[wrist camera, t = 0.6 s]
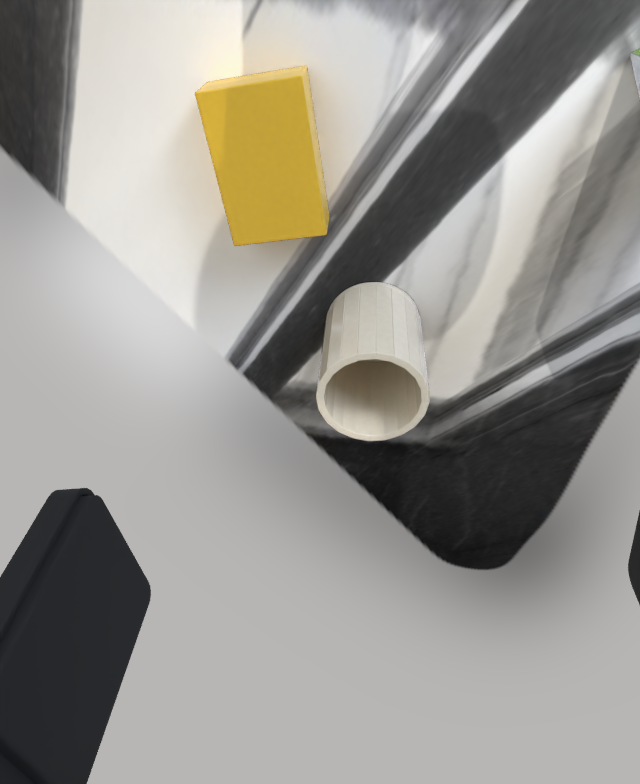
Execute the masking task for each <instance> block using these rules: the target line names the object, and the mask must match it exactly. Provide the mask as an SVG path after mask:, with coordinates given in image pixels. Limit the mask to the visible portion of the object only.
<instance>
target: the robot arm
mask: <svg viewBox="0 0 640 784" xmlns="http://www.w3.org/2000/svg"><path fill="white" fill-rule="evenodd" d="M628 571H629V577H630V581H631V584H632V587H633V589H634V592H635V595H636V597H637V599H638V602H639V604H640V512H639V517H638V521H637V526H636V531H635V535H634V540H633V544H632V549H631V553H630V558H629V564H628ZM150 596H151V590H150V585H149V582H148V580H147V578H146V577H145V575H144V573H143V571H142V570H141V568H140V566H139V564H138V563H137V561H136V559H135V557H134V555H133V553H132V552H131V550H130V548H129V546H128V545H127V543H126V541H125V539H124V538H123V536H122V534H121V532H120V530H119V528H118V527H117V525H116V523H115V522H114V520H113V518H112V516H111V514H110V512H109V511H108V509H107V507H106V505H105V504H104V502H103V500H102V499H101V497H99V496H97V495H96V496H95V495H94V494H93V492H92V491H91V490H89V489H88V488H80V489H67V490H56V491H54V492H53V493H51V495H50V496H49V497H48V499H47V500H46V502H45V504H44V505H43V507H42V509H41V510H40V512H39V514H38V515H37V517H36V519H35V520H34V522H33V524H32V525H31V527H30V529H29V530H28V532H27V534H26V535H25V537H24V539H23V540H22V542H21V544H20V545H19V547H18V549H17V550H16V552H15V554H14V555H13V557H12V559H11V560H10V562H9V564H8V565H7V567H6V569H5V570H4V572H3V574H2V575H1V577H0V784H86V783H87V781H88V778H89V775H90V772H91V769H92V766H93V764H94V761H95V758H96V755H97V752H98V749H99V746H100V743H101V741H102V738H103V735H104V732H105V729H106V726H107V723H108V720H109V717H110V715H111V712H112V709H113V706H114V703H115V700H116V697H117V694H118V692H119V689H120V686H121V683H122V680H123V677H124V674H125V671H126V668H127V666H128V663H129V660H130V657H131V654H132V651H133V648H134V645H135V643H136V640H137V637H138V634H139V631H140V628H141V625H142V622H143V620H144V617H145V614H146V611H147V608H148V605H149V602H150Z"/></svg>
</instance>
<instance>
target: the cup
mask: <svg viewBox="0 0 640 784" xmlns="http://www.w3.org/2000/svg"><path fill="white" fill-rule="evenodd" d="M316 400H317V405H318V409H319V411H320V413H321V415H322V416H323V418H324V419H325V421H326V422H327V423H328V424H329V425H330V426H332V427H333V428H334V429H335V430H337V431H339V432H340V433H342V434H344V435H347V436H349V437H351V438H354V439H360V440H366V441H380V440H388V439H391V438H394V437H397V436H401V435H403V434H404V433H406V432H408V431H409V430H411V429H412V428H414V427H415V426H416V425H417V424H418V423H419V421H420V420H421V419H422V418H423V417H424V415H425V413H426V410H427V408H428V405H429V401H430V400H429V385H428V377H427V368H426V360H425V351H424V343H423V335H422V326H421V318H420V314H419V311H418V308H417V306H416V304H415V303H414V301H413V300H412V299H411V297H410V296H409V295H408V294H406V293H405V292H404V291H402V290H401V289H399V288H397V287H395V286H393V285H390V284H386V283H381V282H367V283H361V284H358V285H355V286H352V287H350V288H348V289H346V290H345V291H343V292H342V293H341V294H339V295H338V296H337V297H336V298H335V300H334V301H333V302H332V304H331V306H330V308H329V310H328V313H327V317H326V323H325V329H324V337H323V345H322V352H321V360H320V368H319V376H318V384H317V391H316Z"/></svg>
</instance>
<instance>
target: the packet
mask: <svg viewBox="0 0 640 784" xmlns="http://www.w3.org/2000/svg"><path fill="white" fill-rule="evenodd" d="M195 96H196V100H197V104H198V108H199V112H200V115H201V119H202V123H203V127H204V131H205V135H206V139H207V142H208V146H209V150H210V154H211V158H212V162H213V166H214V169H215V173H216V177H217V181H218V185H219V189H220V193H221V197H222V200H223V204H224V208H225V212H226V216H227V220H228V224H229V227H230V231H231V235H232V239H233V243H234V246H239V245H248V244H256V243H264V242H273V241H281V240H289V239H298V238H306V237H315V236H323V235H327V229H328V223H329V217H330V216H329V210H328V203H327V196H326V190H325V183H324V176H323V170H322V163H321V156H320V149H319V143H318V136H317V129H316V123H315V116H314V109H313V103H312V96H311V89H310V83H309V76H308V69H307V66H300V67H294V68H288V69H282V70H276V71H270V72H264V73H258V74H252V75H246V76H240V77H234V78H228V79H222V80H216V81H210V82H207V83H206V84H204V85H203V86H202V87H201V88H200V89H199V90H198V91H197V92H195Z"/></svg>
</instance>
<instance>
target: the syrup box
mask: <svg viewBox="0 0 640 784" xmlns="http://www.w3.org/2000/svg"><path fill="white" fill-rule="evenodd" d="M631 62H632V67H633V71H634V76H635V80H636V85H637V90H638V94H639V99H640V48H639V49H637V50H635V51H633V52H632V53H631Z"/></svg>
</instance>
